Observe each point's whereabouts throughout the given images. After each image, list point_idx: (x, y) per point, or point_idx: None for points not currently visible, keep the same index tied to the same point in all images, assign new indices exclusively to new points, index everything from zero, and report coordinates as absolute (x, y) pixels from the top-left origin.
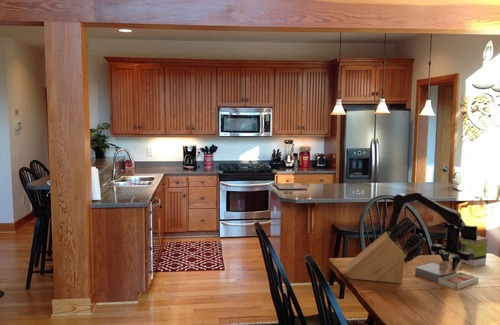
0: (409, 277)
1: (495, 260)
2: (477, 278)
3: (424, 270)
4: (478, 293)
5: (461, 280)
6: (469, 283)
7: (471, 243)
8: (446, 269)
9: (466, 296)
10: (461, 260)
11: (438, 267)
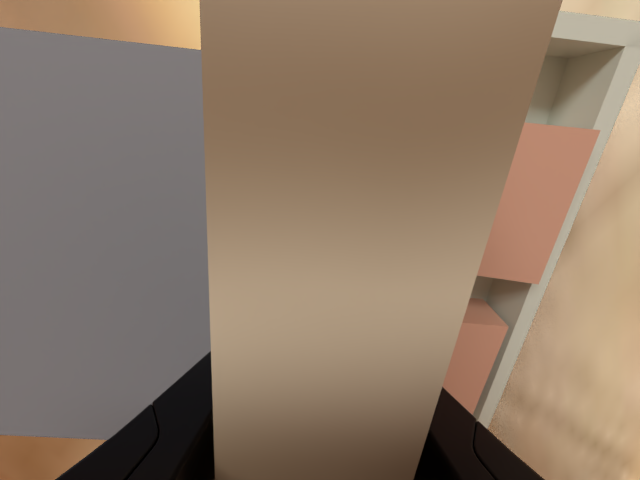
0: (70, 453)
1: None
2: (630, 53)
3: (72, 435)
4: (612, 356)
5: (472, 337)
6: None
7: None
8: None
9: (539, 459)
10: (525, 74)
11: (44, 199)
